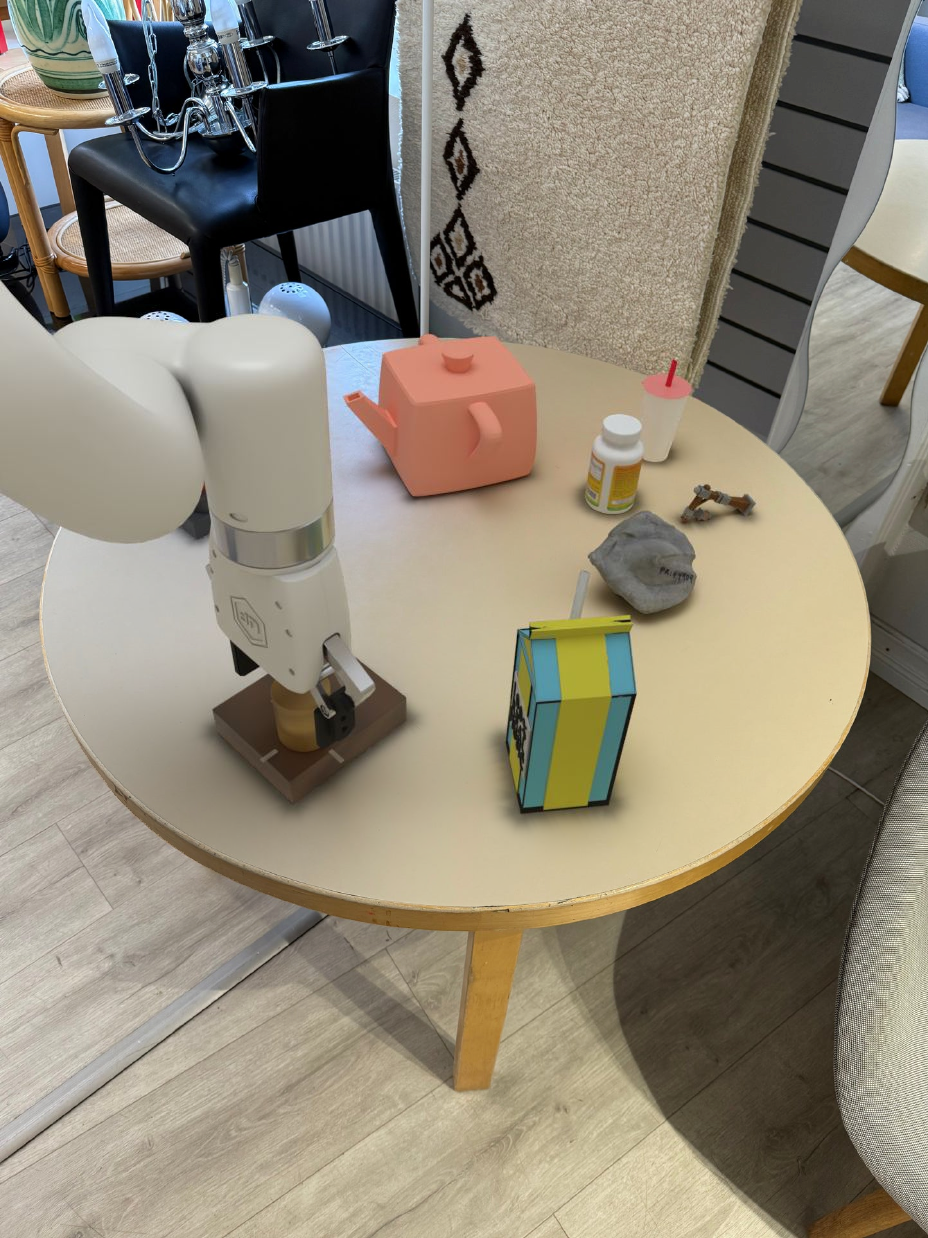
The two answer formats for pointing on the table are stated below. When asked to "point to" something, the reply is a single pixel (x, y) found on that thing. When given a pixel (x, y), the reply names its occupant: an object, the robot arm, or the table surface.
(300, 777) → the panel
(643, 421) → the cup
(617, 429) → the supplement bottle
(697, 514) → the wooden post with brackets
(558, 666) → the carton
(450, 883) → the table surface
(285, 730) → the knob
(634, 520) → the fossil
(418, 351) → the teapot
